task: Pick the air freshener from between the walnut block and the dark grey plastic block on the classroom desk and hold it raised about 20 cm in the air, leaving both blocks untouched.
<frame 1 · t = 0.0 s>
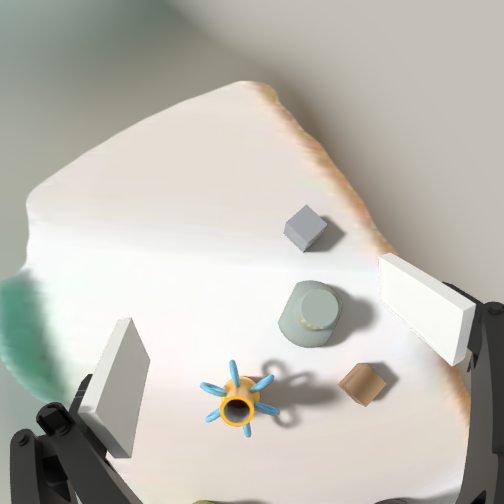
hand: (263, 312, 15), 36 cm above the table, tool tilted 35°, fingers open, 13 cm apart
grey block: (302, 234, 55), on the table
air freshener: (307, 316, 50), on the table
walnut block: (356, 383, 46), on the table
cylinder: (241, 392, 46), on the table
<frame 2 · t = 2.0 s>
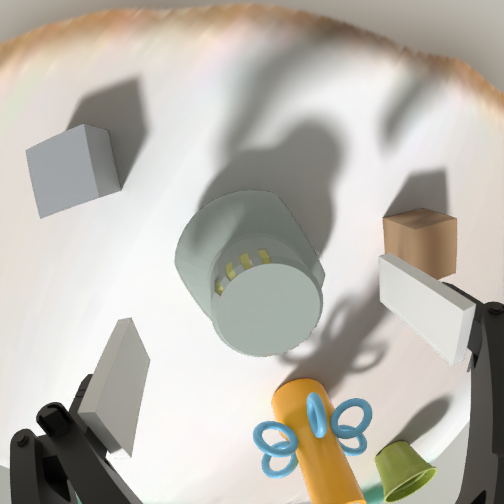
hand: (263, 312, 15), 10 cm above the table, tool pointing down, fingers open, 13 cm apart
grey block: (87, 169, 21), on the table
air freshener: (246, 254, 25), on the table
plant pot: (390, 450, 37), on the table
walnut block: (405, 238, 26), on the table
cylinder: (297, 395, 30), on the table
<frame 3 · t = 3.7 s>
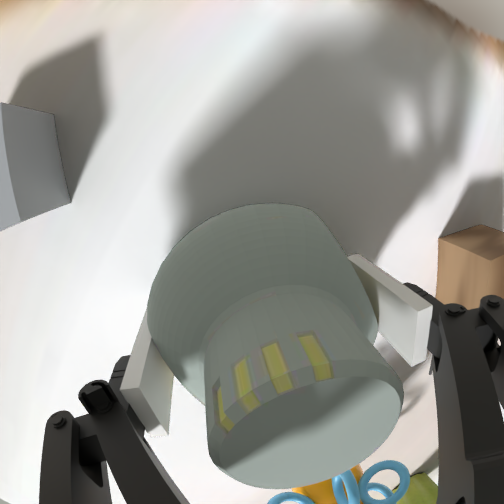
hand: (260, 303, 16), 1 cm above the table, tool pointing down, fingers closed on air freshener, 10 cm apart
grey block: (27, 173, 12), on the table
air freshener: (257, 295, 16), on the table, touching gripper
plant pot: (407, 482, 30), on the table
walnut block: (459, 262, 18), on the table
cylinder: (315, 450, 22), on the table
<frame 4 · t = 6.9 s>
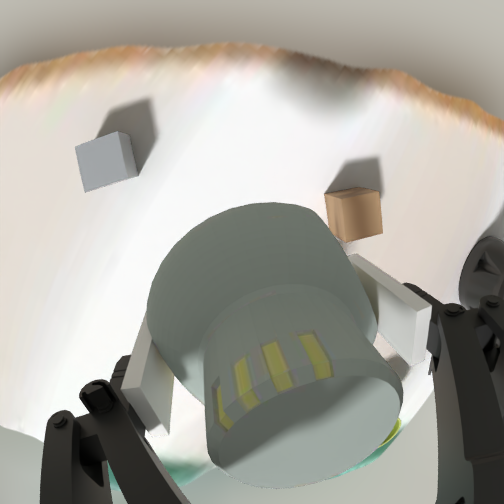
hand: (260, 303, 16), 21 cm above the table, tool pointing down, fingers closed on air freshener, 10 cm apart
grey block: (114, 161, 31), on the table
air freshener: (257, 295, 16), point 20 cm above the table, touching gripper
walnut block: (344, 209, 37), on the table
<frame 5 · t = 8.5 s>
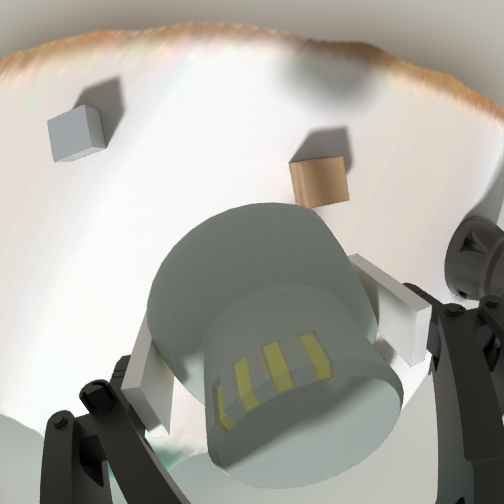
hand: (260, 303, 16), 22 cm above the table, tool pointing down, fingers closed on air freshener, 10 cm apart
grey block: (85, 136, 30), on the table
air freshener: (257, 295, 16), point 21 cm above the table, touching gripper
walnut block: (311, 179, 36), on the table
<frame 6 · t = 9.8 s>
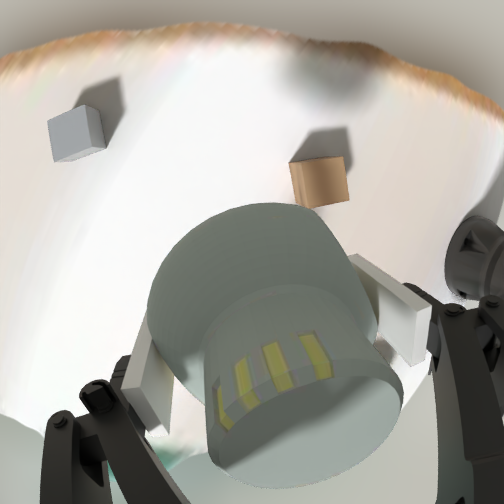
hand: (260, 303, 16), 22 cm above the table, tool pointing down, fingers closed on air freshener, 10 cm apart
grey block: (85, 136, 30), on the table
air freshener: (257, 295, 16), point 21 cm above the table, touching gripper
walnut block: (311, 179, 36), on the table
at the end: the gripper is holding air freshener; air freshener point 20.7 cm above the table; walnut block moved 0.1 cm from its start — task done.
